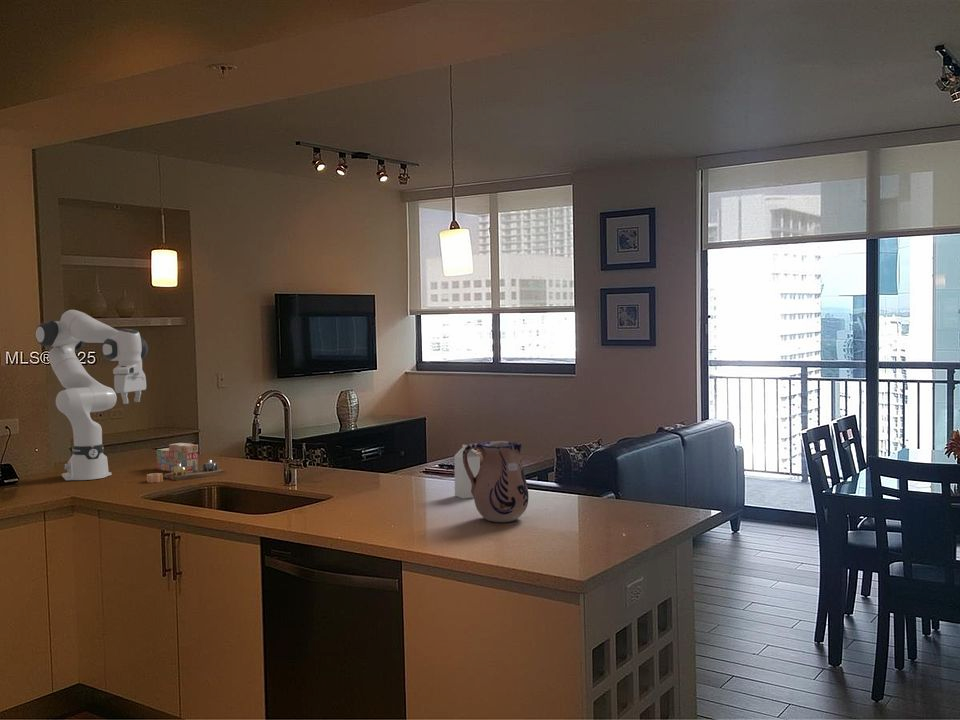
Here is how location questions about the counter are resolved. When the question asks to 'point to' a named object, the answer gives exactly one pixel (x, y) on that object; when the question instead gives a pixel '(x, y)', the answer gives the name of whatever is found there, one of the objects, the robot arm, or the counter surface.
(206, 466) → the drive gears
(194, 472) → the gear board
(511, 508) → the ceramic pitcher
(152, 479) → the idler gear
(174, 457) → the stack of blocks
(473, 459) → the milk carton
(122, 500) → the counter surface
